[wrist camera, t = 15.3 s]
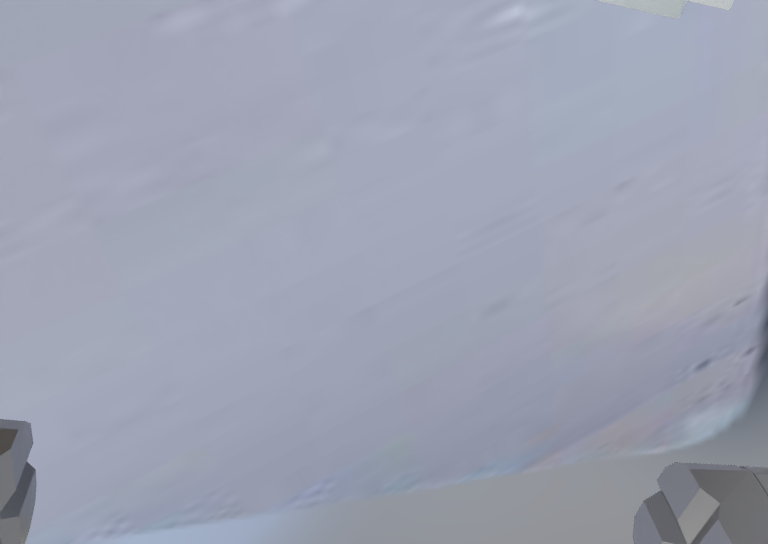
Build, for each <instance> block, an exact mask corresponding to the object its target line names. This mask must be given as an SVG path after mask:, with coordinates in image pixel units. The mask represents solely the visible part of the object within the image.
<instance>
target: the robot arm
mask: <svg viewBox="0 0 768 544" xmlns="http://www.w3.org/2000/svg"><path fill="white" fill-rule="evenodd" d="M32 445H33V438H32V431H31V423H28V422H26V421H16V420H4V419H0V544H25V541H26V538H27V535H28V532H29V529H30V525H31V520H32V515H33V510H34V506H35V497H36V471H35V469H34V468H33V467H32V466H31V465H30V464H29V463H28V462H27V459H28V456H29V453H30V450H31V448H32ZM657 482H658V485H659V488H660V491H659V492H657V493H656V494H654V495H653V496H651V497H649V498H647V499H646V500H644V501H643V503H642V504H641V506H640V508H639V510H638V511H637V513H636V515H635V517H634V528H633V540H634V544H768V468H765V467H764V468H763V467H748V466H739V467H738V466H735V465H719V464H698V463H680V462H679V463H678V462H675V463H673V464H672V465H669V466H667V467H665V469H664V470H663V472H662V473H661V475H660V476H659V478H658V479H657Z"/></svg>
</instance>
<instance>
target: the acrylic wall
mask: <svg viewBox="0 0 768 544" xmlns="http://www.w3.org/2000/svg"><path fill="white" fill-rule="evenodd" d="M596 1H601V2H605V3H609V4H614V5H618V6H622V7H627V8H631V9H635V10H640V11H644V12H649V13H653V14H657V15H662V16H666V17H670V18H675V19H678V18H679V16H680V14H681V11H682V9H683V7H684V5H685V2H686V0H596ZM688 1H692V2H696V3H701V4H705V5H709V6H713V7H718V8H722V9H726V10H729V9H730V7H731V5H732V3H733V1H734V0H688Z"/></svg>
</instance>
